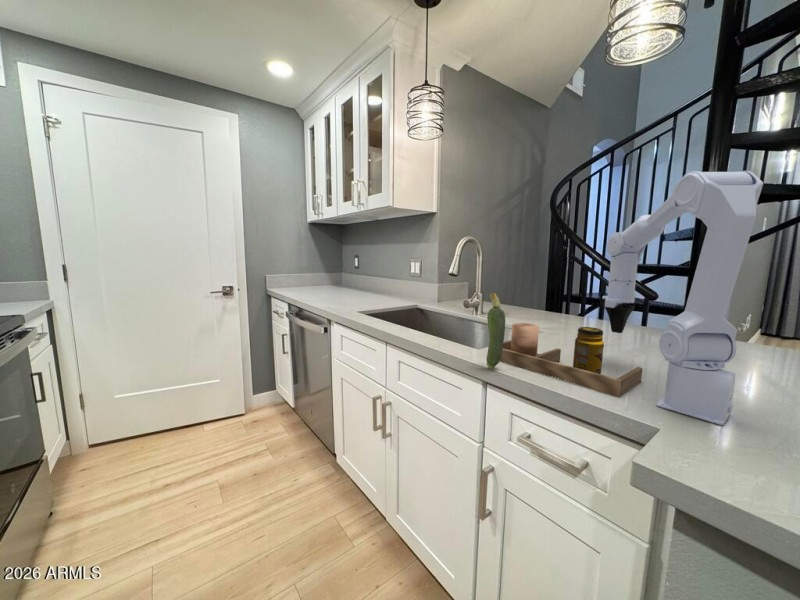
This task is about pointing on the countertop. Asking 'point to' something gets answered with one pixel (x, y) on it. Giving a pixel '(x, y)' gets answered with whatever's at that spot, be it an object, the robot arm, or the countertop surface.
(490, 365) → the vegetable
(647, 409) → the countertop surface
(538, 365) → the caddy
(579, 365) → the condiment
